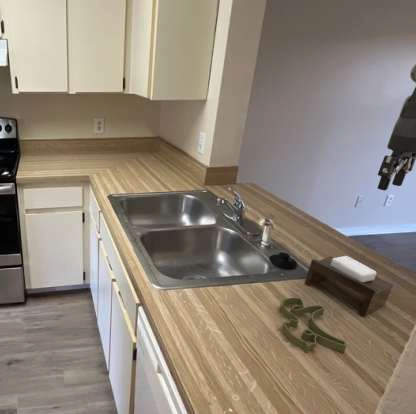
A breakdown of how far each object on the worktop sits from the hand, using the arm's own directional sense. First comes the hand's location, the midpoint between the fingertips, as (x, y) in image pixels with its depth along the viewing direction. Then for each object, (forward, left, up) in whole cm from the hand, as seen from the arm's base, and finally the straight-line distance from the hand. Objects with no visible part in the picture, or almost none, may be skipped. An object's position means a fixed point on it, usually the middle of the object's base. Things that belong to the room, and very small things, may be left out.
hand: (389, 187), depth 100 cm
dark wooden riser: (+16, +20, -26) cm, 37 cm away
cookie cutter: (+32, +35, -26) cm, 54 cm away
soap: (+16, +20, -19) cm, 32 cm away
